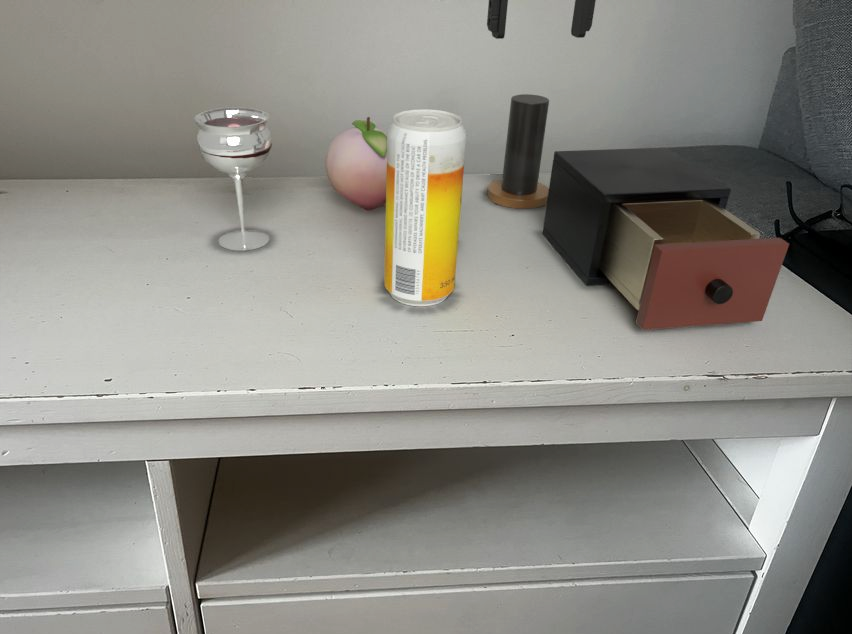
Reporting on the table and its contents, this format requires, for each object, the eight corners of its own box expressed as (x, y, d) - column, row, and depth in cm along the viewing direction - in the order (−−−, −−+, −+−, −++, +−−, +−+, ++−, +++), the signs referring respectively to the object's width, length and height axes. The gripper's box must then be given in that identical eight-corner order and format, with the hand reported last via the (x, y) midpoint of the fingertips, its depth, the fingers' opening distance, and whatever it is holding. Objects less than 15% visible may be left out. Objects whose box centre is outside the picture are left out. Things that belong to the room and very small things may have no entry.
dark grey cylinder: (529, 182, 84) (541, 93, 79) (541, 194, 81) (554, 103, 75) (496, 183, 83) (506, 94, 78) (507, 196, 80) (518, 104, 75)
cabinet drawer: (771, 328, 57) (800, 250, 53) (649, 338, 56) (670, 258, 52) (694, 263, 67) (714, 193, 63) (589, 270, 65) (602, 198, 61)
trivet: (536, 185, 86) (537, 177, 86) (557, 207, 80) (559, 198, 80) (480, 187, 85) (480, 179, 84) (497, 210, 79) (498, 201, 79)
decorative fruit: (313, 202, 80) (310, 110, 75) (379, 191, 83) (380, 102, 78) (349, 233, 73) (348, 134, 68) (419, 220, 76) (423, 125, 71)
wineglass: (203, 231, 73) (188, 110, 66) (269, 222, 75) (260, 104, 68) (216, 259, 68) (200, 130, 61) (286, 248, 70) (278, 123, 63)
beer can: (461, 283, 64) (475, 112, 56) (443, 315, 60) (456, 133, 51) (396, 272, 66) (402, 104, 58) (374, 302, 61) (376, 124, 53)
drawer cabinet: (705, 278, 66) (731, 188, 62) (586, 286, 65) (604, 194, 60) (646, 228, 76) (665, 147, 71) (541, 233, 74) (554, 151, 69)
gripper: (497, -162, 60) (480, 45, 69) (655, -158, 62) (619, 42, 71) (473, -158, 67) (461, 31, 75) (617, -154, 69) (589, 29, 78)
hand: (538, 36), depth 73 cm, fingers open, 8 cm apart
